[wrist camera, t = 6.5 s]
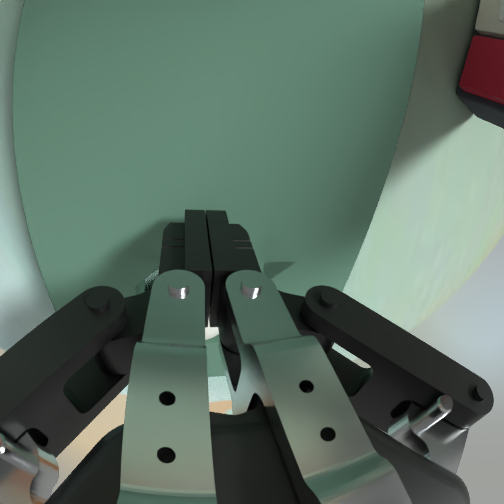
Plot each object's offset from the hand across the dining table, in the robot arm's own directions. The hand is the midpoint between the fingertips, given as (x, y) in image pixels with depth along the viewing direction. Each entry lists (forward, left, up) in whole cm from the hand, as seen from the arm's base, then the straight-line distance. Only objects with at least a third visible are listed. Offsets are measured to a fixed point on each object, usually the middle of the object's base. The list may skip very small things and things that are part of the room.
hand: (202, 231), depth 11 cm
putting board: (0, -2, -4) cm, 4 cm away
